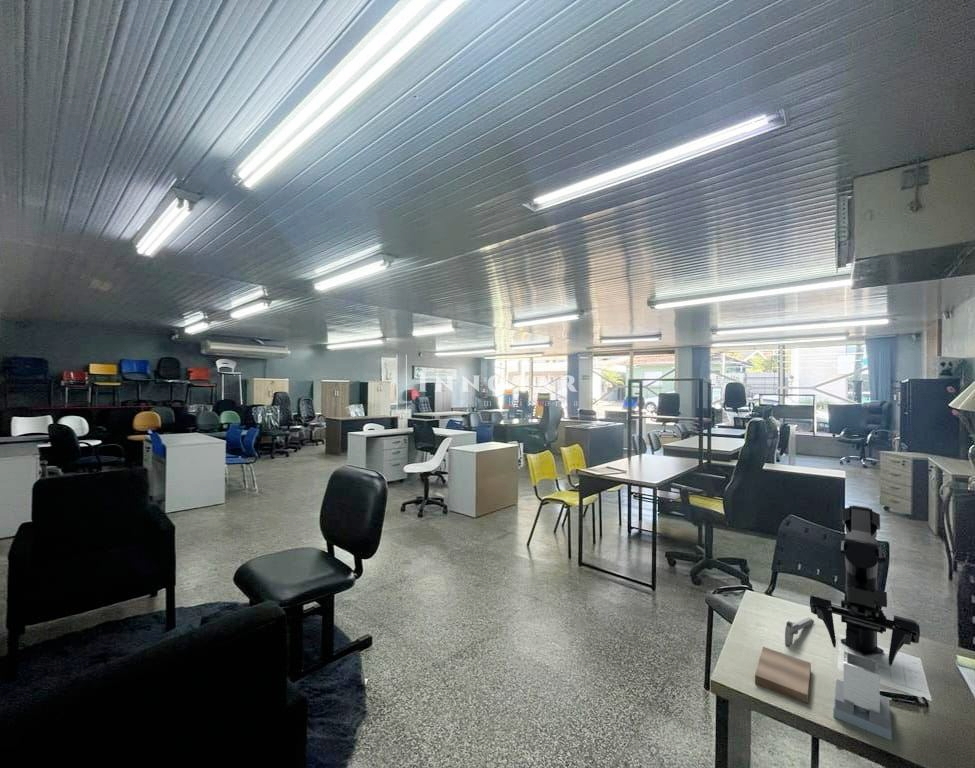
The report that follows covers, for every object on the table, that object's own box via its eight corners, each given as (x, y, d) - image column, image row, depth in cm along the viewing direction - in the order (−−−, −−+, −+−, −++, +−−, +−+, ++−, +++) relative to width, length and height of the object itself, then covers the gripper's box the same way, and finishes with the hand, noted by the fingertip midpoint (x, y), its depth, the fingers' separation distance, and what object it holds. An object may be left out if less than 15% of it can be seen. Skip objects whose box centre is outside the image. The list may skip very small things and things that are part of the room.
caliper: (789, 648, 113) (789, 625, 113) (784, 646, 114) (784, 623, 114) (813, 621, 126) (813, 601, 126) (809, 620, 127) (809, 599, 126)
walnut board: (763, 654, 110) (763, 646, 110) (810, 670, 104) (810, 662, 104) (755, 683, 100) (755, 674, 100) (807, 703, 93) (807, 694, 93)
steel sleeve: (844, 686, 93) (844, 650, 93) (879, 698, 89) (878, 661, 89) (843, 700, 89) (843, 663, 89) (879, 714, 85) (879, 675, 85)
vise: (836, 688, 98) (835, 659, 98) (889, 708, 92) (888, 677, 92) (833, 716, 90) (833, 684, 90) (891, 740, 84) (891, 705, 84)
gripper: (810, 560, 103) (805, 624, 94) (918, 585, 90) (924, 661, 82) (813, 581, 108) (809, 643, 100) (915, 607, 96) (921, 680, 88)
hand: (861, 655), depth 92 cm, fingers open, 9 cm apart
